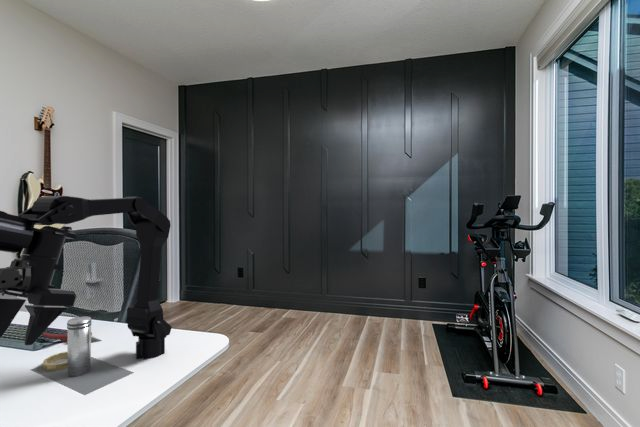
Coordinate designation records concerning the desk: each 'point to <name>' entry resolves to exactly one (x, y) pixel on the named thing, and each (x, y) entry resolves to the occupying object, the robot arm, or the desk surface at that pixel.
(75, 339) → the piston
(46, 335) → the pliers
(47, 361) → the socket collar
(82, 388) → the mat
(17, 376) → the desk surface
